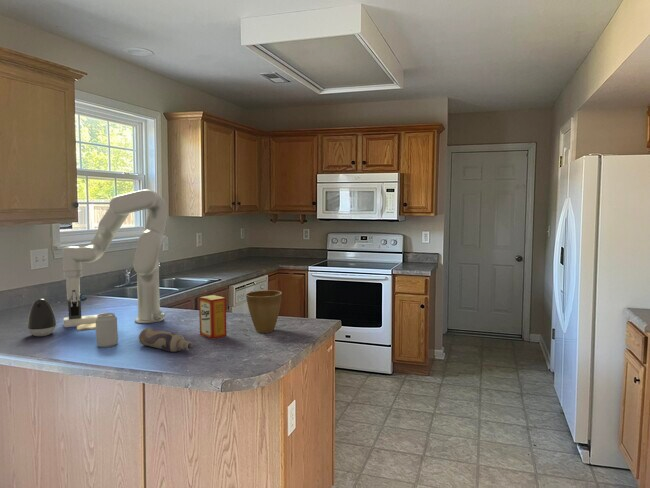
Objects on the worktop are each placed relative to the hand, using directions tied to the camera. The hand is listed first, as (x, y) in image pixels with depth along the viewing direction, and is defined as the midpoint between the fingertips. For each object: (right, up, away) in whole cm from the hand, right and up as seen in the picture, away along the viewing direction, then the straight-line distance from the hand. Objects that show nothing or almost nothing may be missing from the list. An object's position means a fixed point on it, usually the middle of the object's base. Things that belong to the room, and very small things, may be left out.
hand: (75, 314), depth 222 cm
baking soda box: (+66, -6, -20) cm, 70 cm away
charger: (0, -2, 0) cm, 2 cm away
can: (+29, -7, -33) cm, 45 cm away
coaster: (+8, -5, -6) cm, 11 cm away
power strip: (+4, -5, +2) cm, 7 cm away
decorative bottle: (+53, -8, -40) cm, 67 cm away
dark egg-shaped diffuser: (-5, -6, -17) cm, 19 cm away
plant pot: (+87, -5, -13) cm, 88 cm away
